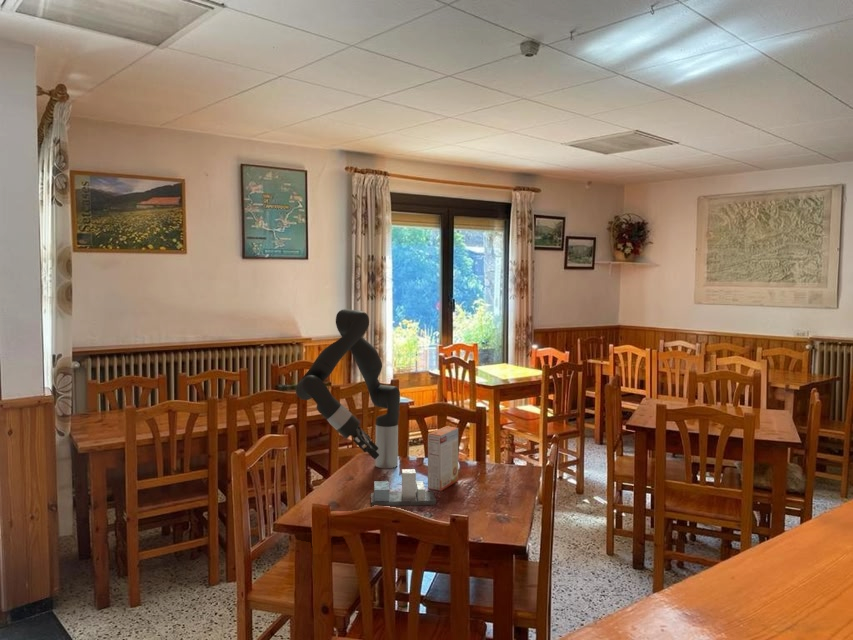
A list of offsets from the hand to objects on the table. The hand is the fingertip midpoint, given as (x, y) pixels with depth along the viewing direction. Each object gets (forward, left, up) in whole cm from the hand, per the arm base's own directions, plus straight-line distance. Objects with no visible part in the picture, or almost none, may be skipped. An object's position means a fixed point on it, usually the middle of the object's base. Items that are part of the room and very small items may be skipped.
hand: (376, 453), depth 217 cm
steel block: (0, +11, -15) cm, 19 cm away
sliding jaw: (0, +2, -15) cm, 15 cm away
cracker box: (-16, +25, -17) cm, 34 cm away
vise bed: (0, +9, -17) cm, 19 cm away
